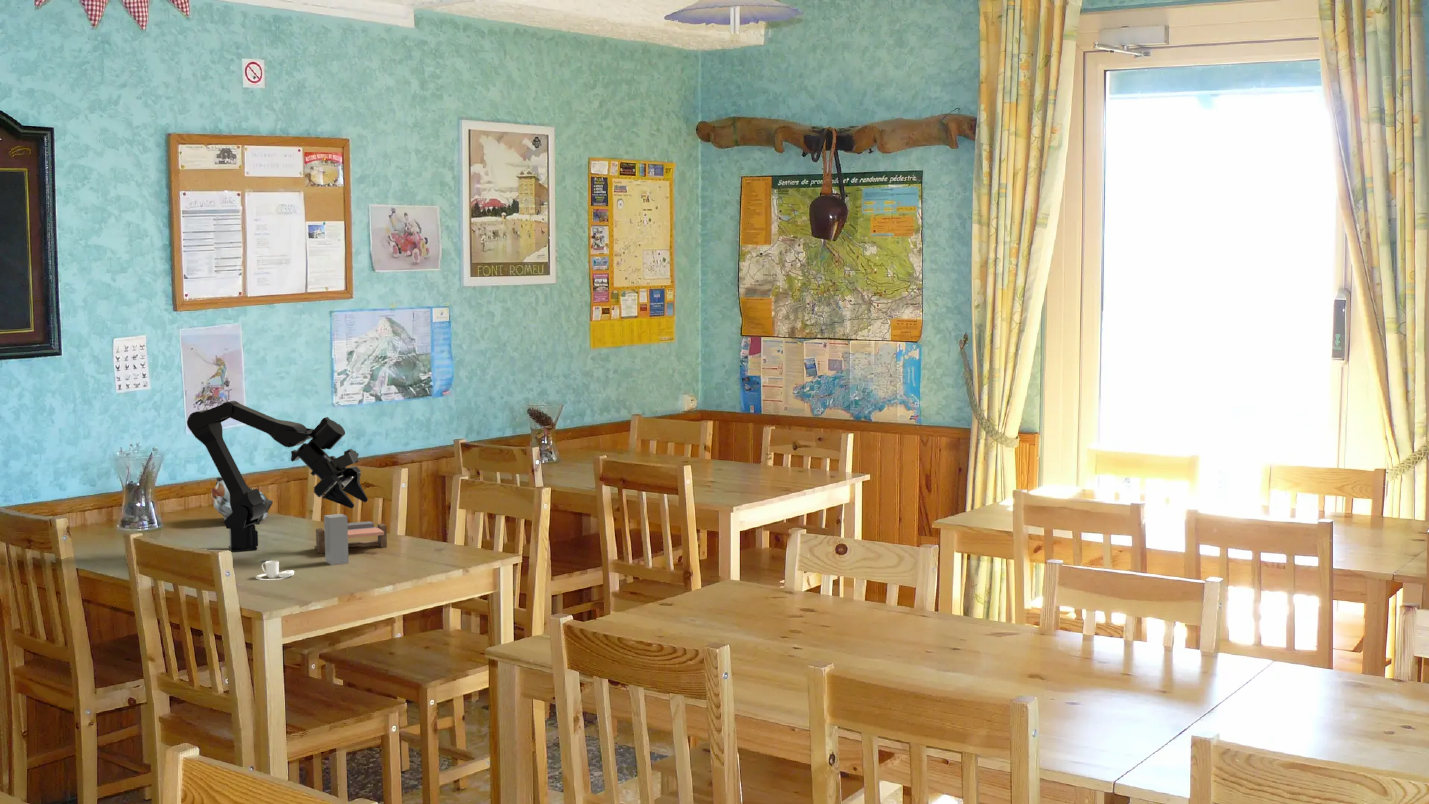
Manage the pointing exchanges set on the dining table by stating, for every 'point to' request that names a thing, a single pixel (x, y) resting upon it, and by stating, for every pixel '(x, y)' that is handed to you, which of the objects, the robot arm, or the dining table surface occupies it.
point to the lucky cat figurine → (222, 500)
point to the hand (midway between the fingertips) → (360, 504)
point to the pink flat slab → (363, 529)
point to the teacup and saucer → (274, 571)
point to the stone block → (336, 539)
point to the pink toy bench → (381, 542)
